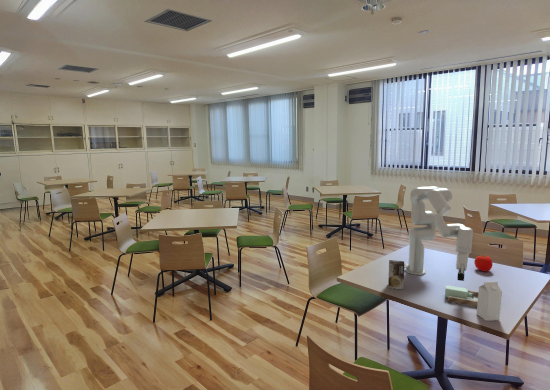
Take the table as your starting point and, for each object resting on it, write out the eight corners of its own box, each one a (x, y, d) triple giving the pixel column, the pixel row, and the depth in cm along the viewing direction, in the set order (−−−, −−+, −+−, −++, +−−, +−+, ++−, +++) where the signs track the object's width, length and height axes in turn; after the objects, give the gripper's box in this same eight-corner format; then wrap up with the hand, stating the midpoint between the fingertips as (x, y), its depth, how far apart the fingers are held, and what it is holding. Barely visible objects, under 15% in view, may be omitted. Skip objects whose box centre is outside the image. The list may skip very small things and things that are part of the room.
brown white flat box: (448, 301, 187) (448, 295, 186) (447, 291, 200) (448, 285, 199) (490, 309, 178) (491, 302, 177) (487, 298, 191) (488, 291, 190)
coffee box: (403, 285, 209) (404, 261, 206) (403, 290, 203) (405, 264, 200) (388, 283, 212) (389, 259, 209) (387, 288, 206) (389, 263, 203)
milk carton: (476, 314, 174) (479, 279, 171) (489, 313, 174) (492, 278, 171) (486, 321, 167) (489, 285, 164) (499, 320, 167) (502, 284, 164)
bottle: (445, 288, 191) (473, 293, 185) (445, 285, 195) (473, 289, 189) (445, 297, 192) (473, 302, 185) (445, 293, 196) (472, 298, 190)
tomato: (494, 271, 231) (496, 256, 230) (487, 274, 226) (489, 259, 224) (478, 266, 240) (479, 252, 238) (471, 269, 234) (472, 255, 233)
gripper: (455, 244, 195) (452, 274, 198) (456, 252, 182) (453, 283, 185) (470, 246, 191) (467, 276, 194) (472, 254, 178) (468, 286, 181)
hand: (460, 279), depth 189 cm, fingers closed
